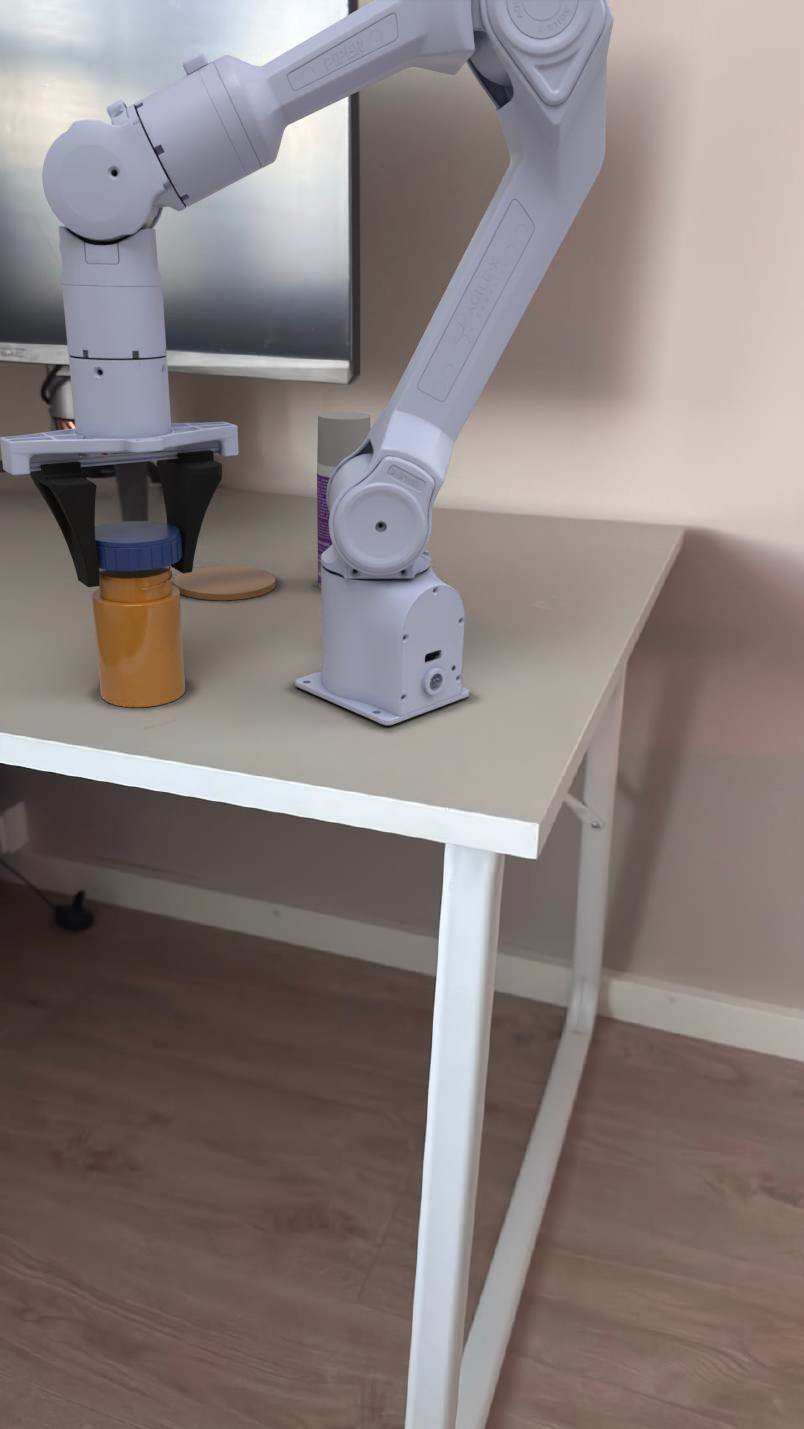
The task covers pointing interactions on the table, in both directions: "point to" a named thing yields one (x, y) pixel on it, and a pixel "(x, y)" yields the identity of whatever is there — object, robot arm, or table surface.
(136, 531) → the lid
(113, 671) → the jar
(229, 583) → the coaster
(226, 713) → the table surface
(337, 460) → the container
